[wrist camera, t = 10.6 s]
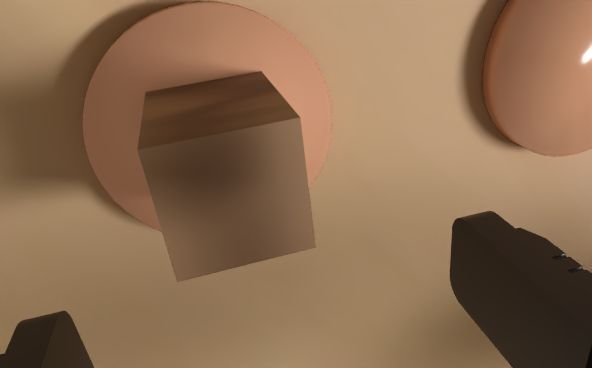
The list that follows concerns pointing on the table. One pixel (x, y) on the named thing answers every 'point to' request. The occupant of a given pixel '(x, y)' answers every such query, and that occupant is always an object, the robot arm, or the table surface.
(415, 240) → the table surface
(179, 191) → the walnut block
